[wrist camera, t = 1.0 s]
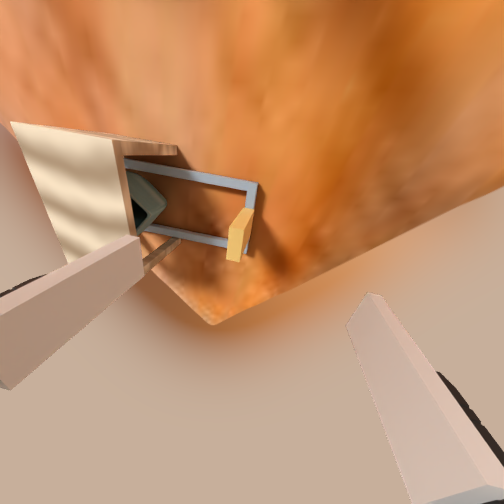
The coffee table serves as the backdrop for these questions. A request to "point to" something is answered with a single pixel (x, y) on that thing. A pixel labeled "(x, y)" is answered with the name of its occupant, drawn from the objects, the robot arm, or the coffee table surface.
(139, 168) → the frame with square tube
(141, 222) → the flower pot
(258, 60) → the coffee table surface
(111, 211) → the shelf
